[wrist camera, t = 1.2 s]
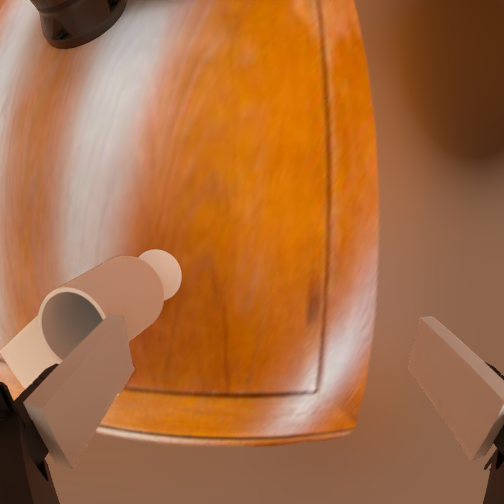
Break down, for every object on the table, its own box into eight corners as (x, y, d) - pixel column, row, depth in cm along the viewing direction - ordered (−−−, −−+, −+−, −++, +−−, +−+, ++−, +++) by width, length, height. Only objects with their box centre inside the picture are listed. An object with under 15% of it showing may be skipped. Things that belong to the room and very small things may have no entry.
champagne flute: (164, 311, 38) (98, 406, 14) (122, 281, 37) (12, 336, 14) (192, 269, 38) (151, 319, 14) (148, 238, 38) (52, 242, 14)
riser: (28, 335, 36) (-1, 351, 28) (79, 291, 37) (51, 302, 29) (78, 404, 37) (58, 430, 29) (135, 368, 38) (119, 394, 30)
